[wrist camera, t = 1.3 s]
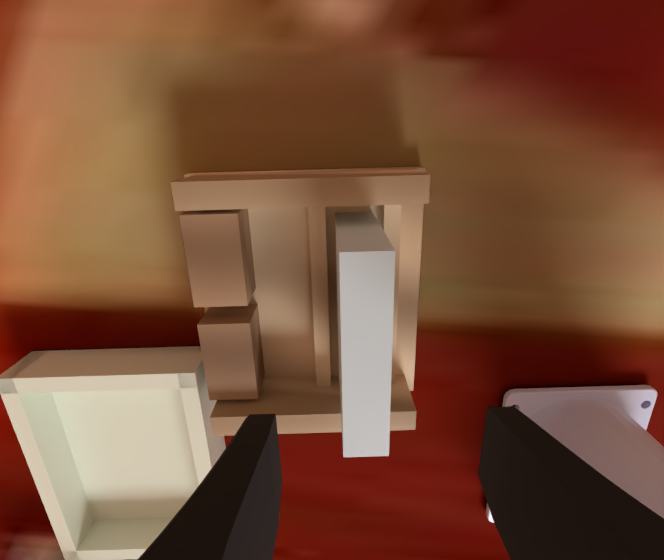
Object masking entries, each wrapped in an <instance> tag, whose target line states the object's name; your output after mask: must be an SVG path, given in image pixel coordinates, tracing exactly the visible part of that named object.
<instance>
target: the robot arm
mask: <svg viewBox="0 0 664 560" xmlns="http://www.w3.org/2000/svg"><path fill="white" fill-rule="evenodd" d="M656 398H657V391H656V390H655V389H654V388H652V387H651V386H649V385H626V386H593V387H560V388H528V389H511V390H509V391H507V392H506V393H505V395H504V398H503V404H502V407H487V414H486V421H485V429H484V436H483V443H482V450H481V457H480V465H479V472H478V475H479V478H480V482H481V485H482V488H483V491H484V494H485V497H486V500H487V508H486V516H487V518H488V520H489V521H490V522H492V523H495V525H496V527H497V530H498V532H499V534H500V536H501V539H502V541H503V543H504V545H505V547H506V550H507V552H508V554H509V556H510V558H511V560H664V447H663V446H662V445H661V444H660V443H659V442H658V441H657V440H656V439H654V438H653V437H652V436H651V435H650V434H649V433H648V432H647V431H646V429H647V426H648V423H649V420H650V417H651V413H652V410H653V407H654V404H655V401H656ZM512 405H515V406H512ZM281 486H282V475H281V465H280V454H279V444H278V433H277V422H276V414H250V415H249V416H248V417H246V418H245V420H244V421H243V423H242V425H241V426H240V428H239V429H238V431H237V432H236V434H235V435H234V437H233V438H232V440H231V441H230V443H229V444H228V446H227V447H226V449H225V450H224V452H223V453H222V455H221V456H220V457H219V459H218V460H217V462H216V463H215V464H214V466H213V467H212V468H211V470H210V471H209V473H208V474H207V475H206V477H205V478H204V479H203V481H202V482H201V483H200V485H199V486H198V487H197V489H196V490H195V491H194V493H193V494H192V495H191V496H190V498H189V499H188V500H187V501H186V503H185V504H184V505H183V506H182V508H181V509H180V510H179V511H178V512H177V514H176V515H175V516H174V517H173V519H172V520H171V521H170V522H169V523H168V525H167V526H166V527H165V528H164V530H163V531H162V532H161V533H160V534H159V536H158V537H157V538H156V539H155V540H154V541H153V542H152V544H151V545H150V546H149V547H148V548H147V549H146V550H145V552H144V553H143V554H142V555H141V556H140V557H139V558H138V559H137V560H272V558H273V552H274V547H275V541H276V536H277V530H278V522H279V511H280V499H281Z"/></svg>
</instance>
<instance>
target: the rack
mask: <svg viewBox="0 0 664 560" xmlns="http://www.w3.org/2000/svg"><path fill="white" fill-rule="evenodd" d="M425 172H426V168H425V167H422V166H418V167H383V168H348V169H313V170H278V171H242V172H207V173H188V174H185V175H184V178H182V179H179V180H176V181H173V182H170V183H171V189H172V195H173V201H174V207H175V211H196V210H231V209H248V214H249V224H250V234H251V244H252V254H253V264H254V273H255V283H256V289H255V291H254V293H253V295H252V298H251V300H250V302H249V304H258V313H259V322H260V332H261V342H262V352H263V362H264V371H265V374H264V378H263V382H262V386H261V390H260V393H259V397H258V399H235V400H217V401H216V404H215V406H214V409H213V411H212V413H211V416H210V422H211V428H212V434H213V436H225V435H235V434H236V432H237V431H238V429H239V428H240V426H241V425H242V423H243V421H244V420H245V418H246V417H248V416H249V415H250V414H276V422H277V433H278V434H290V433H323V432H342V421H341V402H340V383H339V364H338V323H337V281H336V239H335V213H343V212H373V214H374V216H375V217H376V219H377V221H378V222H379V224H380V226H381V227H382V229H383V231H384V232H385V234H386V236H387V237H388V239H389V241H390V242H391V244H392V246H393V248H394V249H395V279H394V311H393V342H392V373H391V405H390V430H415V425H416V409H415V406H414V403H413V399H412V396H411V393H410V391H413V387H414V369H415V351H416V333H417V315H418V297H419V280H420V262H421V244H422V226H423V208H424V204H429V194H430V178H431V175H430V174H427V173H425ZM208 308H209V307H204V309H205V312H206V311H207V309H208Z"/></svg>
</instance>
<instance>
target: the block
mask: <svg viewBox="0 0 664 560" xmlns="http://www.w3.org/2000/svg"><path fill="white" fill-rule="evenodd" d="M335 239H336V281H337V323H338V364H339V383H340V402H341V421H342V439H343V457H367V456H389V436H390V405H391V373H392V342H393V311H394V279H395V249H394V248H393V246H392V244H391V242H390V241H389V239H388V237H387V236H386V234H385V232H384V231H383V229H382V227H381V226H380V224H379V222H378V221H377V219H376V217H375V216H374V214H373V212H343V213H335Z"/></svg>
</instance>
